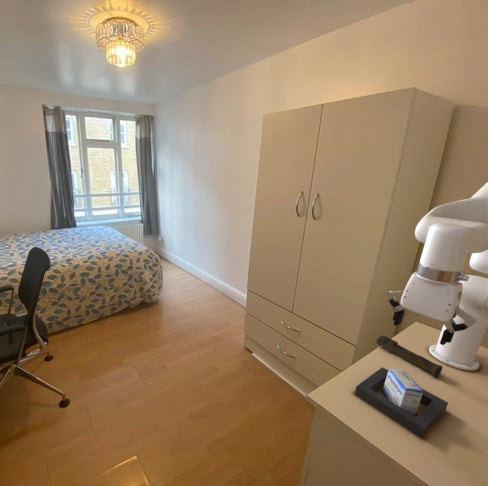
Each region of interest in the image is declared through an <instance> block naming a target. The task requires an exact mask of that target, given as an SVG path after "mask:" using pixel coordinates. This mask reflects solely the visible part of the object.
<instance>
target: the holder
mask: <svg viewBox="0 0 488 486" xmlns="http://www.w3.org/2000/svg"><path fill="white" fill-rule="evenodd" d="M388 371H389V369H387V368H385V367H384V366H382V367H380V368H379V369H378V370H376V371H375V372H373V373H372V374H370V376H368V377H366V378H365V379H364V380H363V381H361V382H360V383H359V384H357V385H356V387H355V391H354V395H355V396H356V397H357V398H359V399H360V400H362V401H364V402H365V403H367V404H368V405H370V406H371V407H373V408H374V409H376V410H377V411H379V412H380V413H382V414H383V415H384V416H386V417H387V418H390V419H391V420H392V421H394V422H396V423H397V424H398V425H400V426H402V427H403V428H405V429H406V430H408V431H409V432H410V433H412V434H413V435H414V436H416V437H418V438H419V439H423V438H424V436H425V435H426V434H427V433H428V432H429V430H430V429H432V427H433V426H434V425H435V424H436V422H437V421H438V420H439V419H440V418H441V417H442V416H443V415H444V414H445V412H446V410H447V407H448V405H449V402H448V401H446V400H444V399H443V398H441V397H439V396H437V395H435V394H433V393H431V392H430V391H427V390H426V389H424V388H422V387H420V388H421V389H422V390H423V394H422V397H421V400H420V403H419V404H421V405H423V406H425V408H424V409H423V410H422V411H421V412H419V414H418V415H417V416H415V415H412V414H411V413H409V412H407V411H406V410H404V409H402V408H401V407H399V406H398V405H396V404H394V403H393V402H391V401H390V400H389V399H388V398H387V397H386V396H383V395H381V394H380V393H378V392H377V390H378V389H380V388H381V387H382V386H384V384H385V381H386V378H387V374H388Z"/></svg>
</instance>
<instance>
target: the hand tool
mask: <svg viewBox="0 0 488 486" xmlns="http://www.w3.org/2000/svg"><path fill="white" fill-rule="evenodd" d="M375 342H376V344H377V345H378V346H379V347H381V346H382V345H383V346H382V347H381V348H382V349H384V350H385V351H387V352H388V353H389V354H395V355H397V356H399V357H400V358H403V359H404V360H406V361H408V362H410V363H412V364H413V365H415V366H417V367H419V368H421V369H422V370H424V371H426V372H428V373H430V374H431V375H432V377H433V378H436V377H438V376H439V375H440V374H441V373H442V371H443V365H440V364H437V363H434V362H432V361H431V360H429V359H427V358H425V357H423V356H422V355H420V354H417V353H415V352H413V351H411V350H409V349H407V348H406V347H404V346H403V345H400V344H398V343H399V342H398V341H396V340H394V339H392V338H390V337H388V336H386V335H380V336H379V337H377V338H376V341H375Z"/></svg>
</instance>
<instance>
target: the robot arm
mask: <svg viewBox="0 0 488 486" xmlns="http://www.w3.org/2000/svg"><path fill="white" fill-rule="evenodd" d="M414 237H415V239H416V240H417V241H418V242H420V243H422V244H424V245H423V249H422V252H421V256H420V260H419V263H418V265H417V270H416V271H414V272H413V273H412V274H411V276H410V277H409V280H408V282H407V283H406V285H405V288H404V290H390V291H387V292H386V295H387V299H388V303H389V304H390V305H391V307H392V309H393V311H394V313H393V317H392V321H393V326H395V327H396V326H399V325H400V324H402V322H403V319H404V315H405V309H406V310H408V311H411V312H414V313H416V314H419V315H422V316H424V317H427V318H430V319H432V320H436V321H437V322H442V324H443V325H442V328H441V331H440V334H439V337H438V340H437V343H436V344H432V345H430V346H429V347H428V352H429V354H430V355H432V357H434V358H435V359H436V360H438V361H440V362H441V363H444V364H445V365H448V366H450V367H452V368H456V369H459V370H464V371H477V370H478V369H479V368H480V362H479V361H478V360H477V359H476V356H477V353H478V350H479V348H480V345H481V343H482V340H483V338H484V335H485V333H486V330H487V327H488V314H487V312H486V310H488V277H484V276H479V275H473V274H464V271H463V269H464V266H465V263H466V260H467V257H468V254H471V256H470V259H469V267H470V268H471V269H472V270H474V271H475V272H479V273H482V274H485V275H488V181H487V182H486V183H485V184H484V185H482V187H480V188H479V189H478V191H476V193H474V194H473V195H472V196H471V197H470V198H465V199H461V200H455V201H452V202H447V203H444V204H441V205H438V206H435V207H434V208H432V209H431V210H429V211H428V213H426V214H425V215H424V216H423V217H421V219H420V220H419V222H418V223H417V224H416V226H415V229H414ZM396 297H400V302H399V301H398V300H397V299H396ZM485 309H486V310H485Z"/></svg>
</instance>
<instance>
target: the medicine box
mask: <svg viewBox="0 0 488 486" xmlns="http://www.w3.org/2000/svg"><path fill="white" fill-rule="evenodd" d="M388 370H389V371H388V374H387V378H386V381H385V384H383V387H382V393H383V394H384V395H385V397H386V399H388V400H389V401H391V402H393V403H394V404H396V405H398V406H399V407H401V408H402V409H404V410H406V411H407V412H409V413H411V414H412V415H414V416H415V415H416V414H417V411H418V409H419V405H420V404H421V403H420V400H421V397H422V394H423V390H422V389H423V388H422V387H421V386H420V385H418V383H417V382H416V381H415V380H414V379H413V378H412V377H411V376H410V374H408V372H406V370H403V369H396V368H389V369H388ZM421 388H422V389H421Z"/></svg>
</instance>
